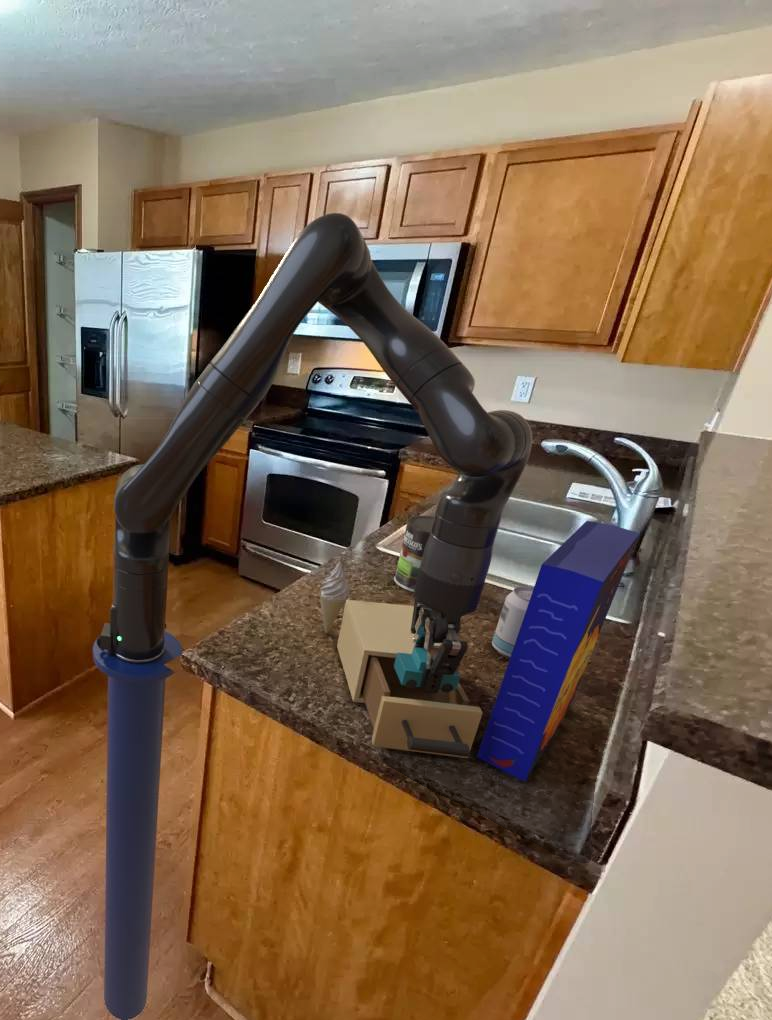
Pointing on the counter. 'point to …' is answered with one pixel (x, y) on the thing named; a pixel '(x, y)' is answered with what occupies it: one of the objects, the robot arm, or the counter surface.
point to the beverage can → (511, 620)
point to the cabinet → (372, 637)
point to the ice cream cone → (333, 596)
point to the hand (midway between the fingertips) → (423, 678)
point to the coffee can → (412, 551)
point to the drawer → (417, 714)
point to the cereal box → (555, 644)
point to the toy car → (420, 670)
